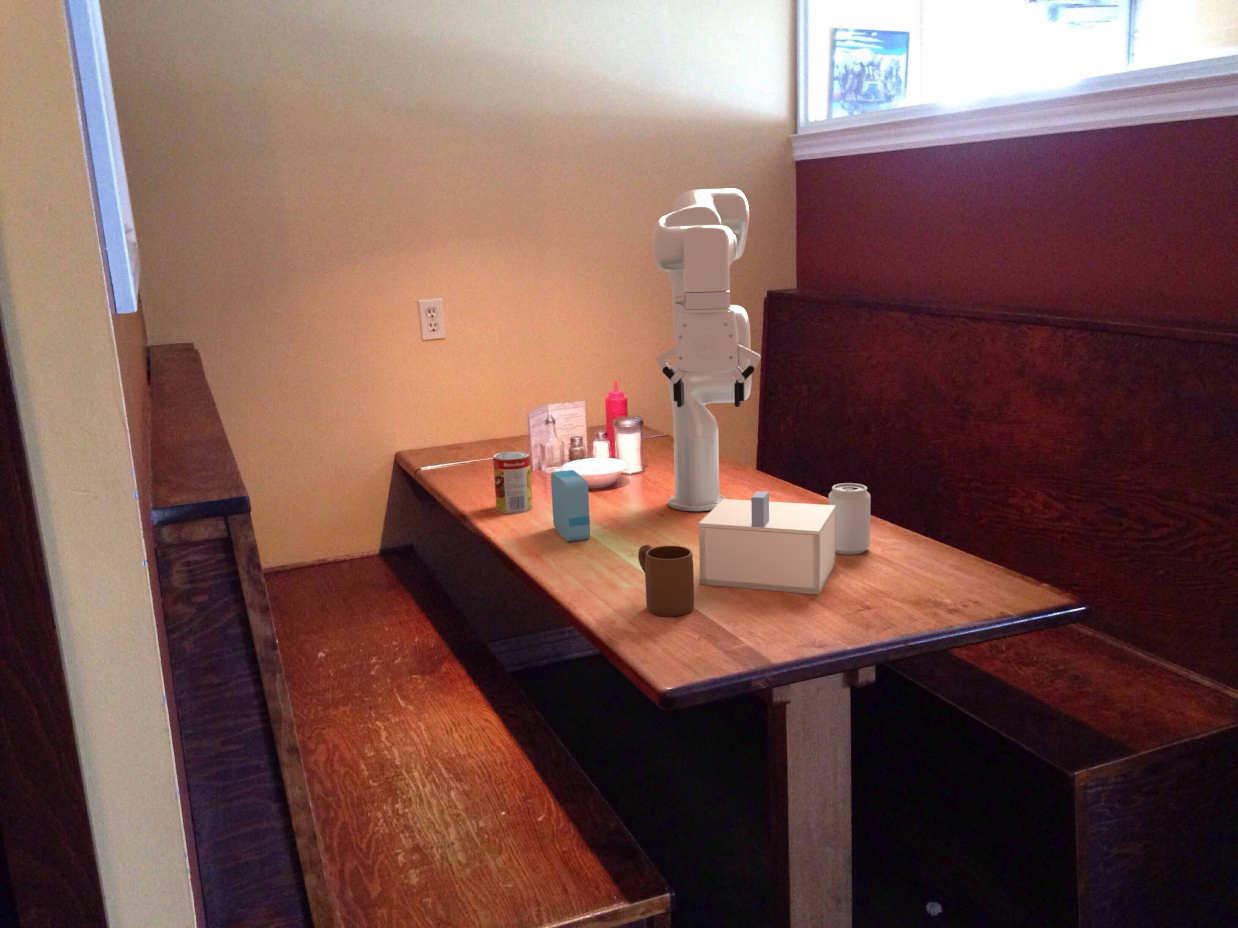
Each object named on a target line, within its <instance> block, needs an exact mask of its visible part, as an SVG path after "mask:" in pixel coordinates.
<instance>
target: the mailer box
mask: <svg viewBox="0 0 1238 928" xmlns="http://www.w3.org/2000/svg"><path fill="white" fill-rule="evenodd" d="M835 526H836V509H835V511H834V512H833V514H832V515H831V517H830V519H829V520H828V522H827V523H826V525H825V526H824V528H823V530H822V531H821V533H820V534H819V535H814V534H799V533H785V532H770V531H755V530H741V529H726V528H712V527H699V526H698V550H699V551H698V553H699V555H698V556H699V557H698V559H699V585H705V586H717V587H727V588H738V589H739V588H740V589H749V590H750V589H751V590H763V591H771V592H772V591H773V592H774V591H775V592H784V593H796V594H807V595H818V596H819V595H820V593H821V591H822V589H823V587H824V586H825V584H826V582H827V581H828V578H829V577H830V574H831V573H832V572H833V570H834V568H835V565H836V552H835Z"/></svg>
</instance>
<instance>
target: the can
mask: <svg viewBox="0 0 1238 928" xmlns="http://www.w3.org/2000/svg"><path fill="white" fill-rule="evenodd" d="M867 490H868V486H866V485H864V484H861V483H853V482H845V483H837V484H834V485H833V486H831V491H830V492H828V501H827V502H828V504H827V505H836V526H835V553H837V554H841V555H850V556H851V555H859V554H863V553H865V552H866V550H868V549H869V548H870V545H871V503H872V501H871V499H872V497H871V494H870V492H868V491H867Z"/></svg>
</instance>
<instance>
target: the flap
mask: <svg viewBox="0 0 1238 928" xmlns="http://www.w3.org/2000/svg"><path fill="white" fill-rule="evenodd" d="M750 499H751V500H749V499H748V500H746V499H732V498H731V499H729V498H726V499H723V500H722V501H721V502H720V503H719V504H718V505H717V506H716V507H715V508H714V509H713V510H710V511H709V512H708V514H707V515H705V516H704V518H702V519H701V520H700V521H699V522H698V528H699V527H712V528H726V529H741V530H755V531H770V532H785V533H799V534H814V535H819V534H820V533H821V531H822V530H823V528H824V526H825V525H826V523H827V522H828V520H829V519H830V517H831V515H832V514H833V512H834V511H835V509H836V505H828V504H819V503H818V504H817V503H815V504H814V503H801V502H800V503H799V502H781V501H770V492H769V491H762V490H761V491H759V490H756V492H754V494H753V495H751V498H750Z"/></svg>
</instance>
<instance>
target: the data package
mask: <svg viewBox="0 0 1238 928" xmlns="http://www.w3.org/2000/svg"><path fill="white" fill-rule="evenodd" d="M550 483H551V484H550V485H551V488H550V489H551V500H552V523H553V527H554V530H555V531H556V532H557V533H558V534H559V535H560V536H561V537H562V538H563V539H564V540H565V541H566V542H569V543H570V542H577V541H583V540H589V539H590V538H591V525H590V524H591V523H590V521H591V520H590V498H589V484H588V481H587V480H586V478H584V477H583V476H582V475H580V474H579V473H578V472H577V471H576V470H575V469H574V470H573V469H570V470H559V471H553V472H551V474H550Z"/></svg>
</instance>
